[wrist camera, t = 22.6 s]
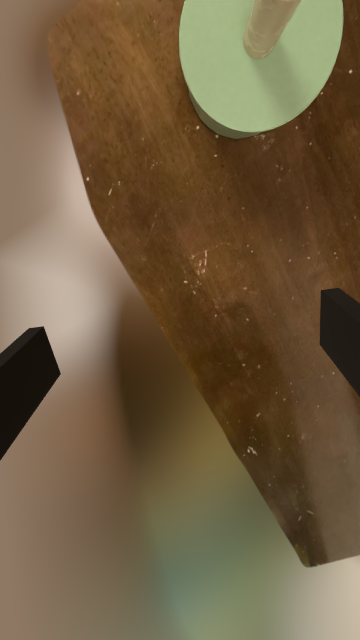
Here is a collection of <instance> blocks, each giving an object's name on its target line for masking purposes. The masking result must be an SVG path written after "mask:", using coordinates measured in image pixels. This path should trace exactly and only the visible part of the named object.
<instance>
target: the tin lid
mask: <svg viewBox="0 0 360 640" xmlns="http://www.w3.org/2000/svg"><path fill="white" fill-rule="evenodd" d="M342 29H343V4H342V0H185V2H184V6H183V11H182V15H181V21H180V29H179V51H180V60H181V66H182V71H183V74H184V78H185V81H186V84H187V86H188V88H189V91H190V93H191V95H192V96H193V98H194V100H195V102H196V103H197V104H198V106H199V107H200V108H201V109H202V111H203V112H204V113H205V114H206V115H207V116H208V117H209V118H211V119H212V120H213V121H215V122H216V123H218V124H220V125H221V126H223V127H225V128H228V129H230V130H233V131H237V132H242V133H258V132H265V131H269V130H272V129H275V128H277V127H280V126H282V125H284V124H285V123H287V122H289V121H291V120H292V119H294V118H295V117H296V116H298V115H299V114H300V113H302V112H303V111H304V110H305V109H306V108H307V107H308V106H309V105H310V104H311V103H312V101H313V100H314V99H315V98H316V97H317V95H318V94H319V92H320V91H321V90H322V88H323V87H324V85H325V83H326V81H327V79H328V78H329V76H330V74H331V71H332V69H333V67H334V64H335V62H336V58H337V55H338V52H339V48H340V43H341V38H342Z"/></svg>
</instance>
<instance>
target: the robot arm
mask: <svg viewBox="0 0 360 640" xmlns="http://www.w3.org/2000/svg"><path fill="white" fill-rule="evenodd" d="M320 345H321V347H322V348H323V349H324V351H325V352H326V353H327V355H328V356H329V357H330V358H331V360H332V361H333V362H334V364H335V365H336V366H337V368H338V369H339V370H340V371H341V373H342V374H343V375H344V377H345V378H346V379H347V381H348V382H349V383H350V385H351V386H352V387H353V388H354V390H355V391H356V392H357V394H358V395H359V396H360V303H358V302H357V301H356V300H354V299H353V298H352V297H350V296H349V295H348V294H346V293H345V292H343V291H342V290H341V289H339V288H335V289H327V290H321V311H320ZM60 374H61V373H60V371H59V368H58V365H57V362H56V359H55V357H54V354H53V351H52V348H51V345H50V343H49V340H48V337H47V334H46V332H45V329H44V327H36V328H29V329H28V330H26V331H25V332H24V333H23V334H22V335H21V336H20V337H19V338H17V339H16V340H15V341H14V342H13V343H12V344H11V345H10V346H8V347H7V348H6V349H5V350H4V351H3V352H2V353H0V460H1V459H2V457H3V456H4V454H5V453H6V452H7V450H8V449H9V447H10V446H11V444H12V443H13V442H14V440H15V439H16V437H17V436H18V434H19V433H20V431H21V430H22V429H23V427H24V426H25V424H26V423H27V421H28V420H29V418H30V417H31V416H32V414H33V412H34V411H35V410H36V409H37V407H38V406H39V404H40V403H41V401H42V400H43V398H44V397H45V396H46V394H47V393H48V391H49V390H50V389H51V387H52V386H53V384H54V383H55V381H56V380H57V378H58V377H59V376H60Z"/></svg>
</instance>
